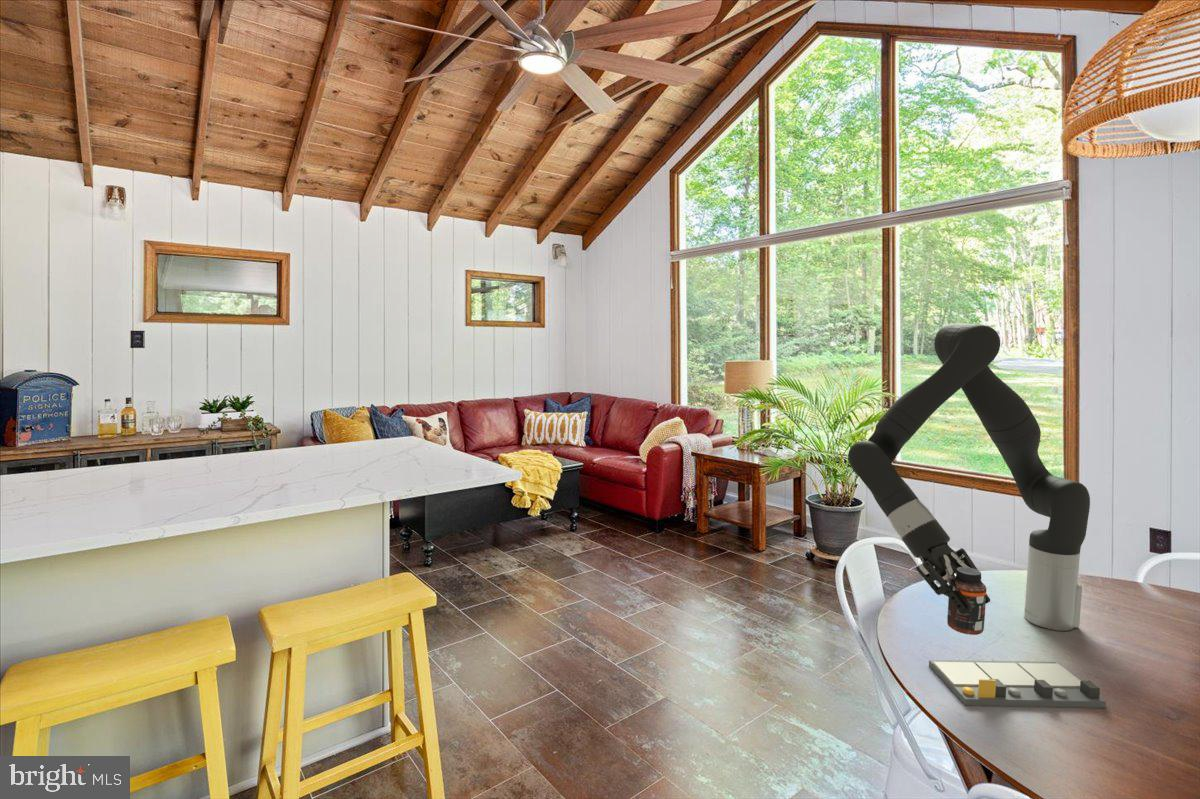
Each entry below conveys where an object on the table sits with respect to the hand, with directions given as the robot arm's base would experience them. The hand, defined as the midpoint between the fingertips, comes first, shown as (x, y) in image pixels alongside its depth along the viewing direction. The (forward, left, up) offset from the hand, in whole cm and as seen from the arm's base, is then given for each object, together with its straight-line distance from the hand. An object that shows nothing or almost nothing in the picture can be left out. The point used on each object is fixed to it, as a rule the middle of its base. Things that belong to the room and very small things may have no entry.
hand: (976, 607), depth 113 cm
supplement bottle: (+1, -1, -5) cm, 5 cm away
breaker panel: (-7, 0, -15) cm, 17 cm away
